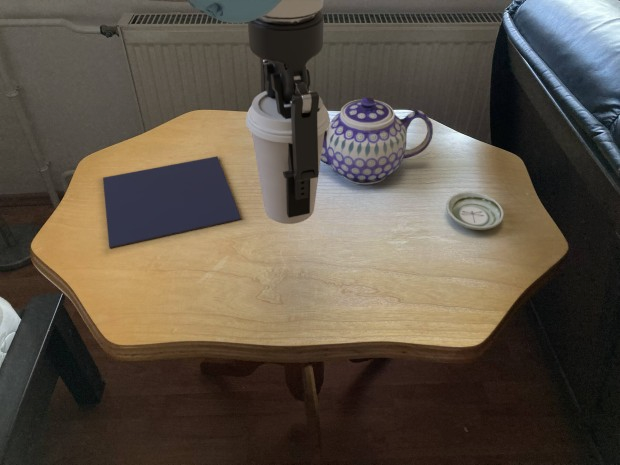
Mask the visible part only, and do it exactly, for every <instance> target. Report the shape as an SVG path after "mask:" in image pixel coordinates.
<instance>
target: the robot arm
mask: <svg viewBox="0 0 620 465" xmlns="http://www.w3.org/2000/svg"><path fill="white" fill-rule="evenodd" d="M150 1H152V2H168V3H169V2H171V3H188V4H189V5H190V6H191V7H192V8H193V9H194V10H196V11H198V12H200V13H202V14H205V15H207V16H208V17H211V18H212V19H215V20H218V21H220V22H223V23H228V24H244V23H247V30H248V44H249V49H250V51H251V53H253V55H255V56H256V57H258V58H259V61H260V90H261V92H260V93H262V92H264V91H266V92H267V95H268V97H270V98H276V105H277V112H278V113H279V114H280V115H282V116H283V118H285V119H290V118H291V125H292V144H290V143H288V165H289V171H285V172H283V175H284V178H287V179H286V192H287V215H288V217H289V218H291V217H295V216H300V215H305V214H309V213H310V179H312V178H317V177H318V178H319V176H318V174H319V175H320V171H319V172H318V128H317V112H318V105H319V97H320V95H319V93H318V91H311V92H309V91H310V86H311V76H310V75H311V74H310V71H309V69H307V66H306V65H307V63H308V62H309V61H310V60H311V59H312V58H314V57H316V56H317V55H319V53H321V51H322V49H323V46H324V21H325V20H324V19H325V18H324V14H323V13H322V9H323V7H324V4H325V3H324V1H325V0H150ZM288 104H290V106H289V107H284V105H288Z"/></svg>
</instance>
